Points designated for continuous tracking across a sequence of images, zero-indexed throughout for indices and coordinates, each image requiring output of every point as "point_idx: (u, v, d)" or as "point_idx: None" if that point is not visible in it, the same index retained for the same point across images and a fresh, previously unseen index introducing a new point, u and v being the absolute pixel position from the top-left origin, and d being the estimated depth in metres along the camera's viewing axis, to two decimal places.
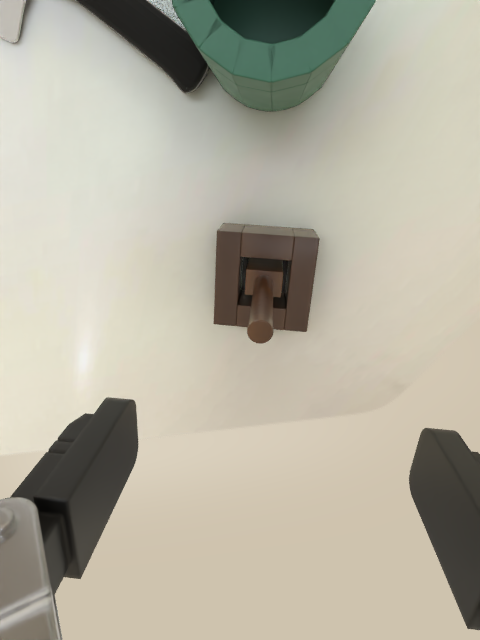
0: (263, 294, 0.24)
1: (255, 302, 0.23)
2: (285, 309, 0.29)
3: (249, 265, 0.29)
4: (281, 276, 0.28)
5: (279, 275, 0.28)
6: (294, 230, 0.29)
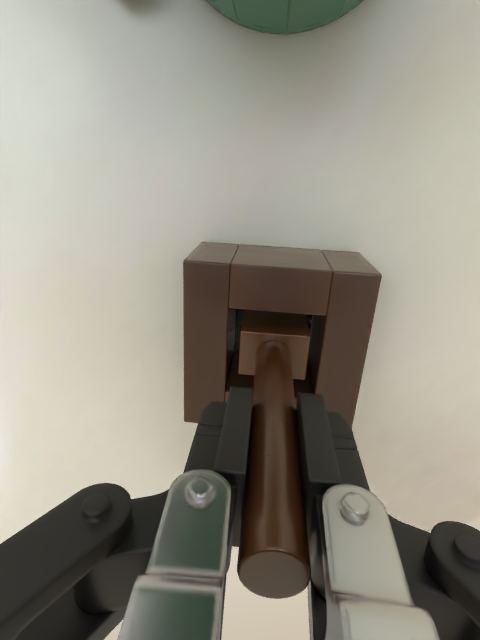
0: (276, 409, 0.11)
1: (259, 440, 0.10)
2: None
3: (246, 319, 0.16)
4: (306, 343, 0.15)
5: (303, 341, 0.15)
6: (327, 256, 0.16)
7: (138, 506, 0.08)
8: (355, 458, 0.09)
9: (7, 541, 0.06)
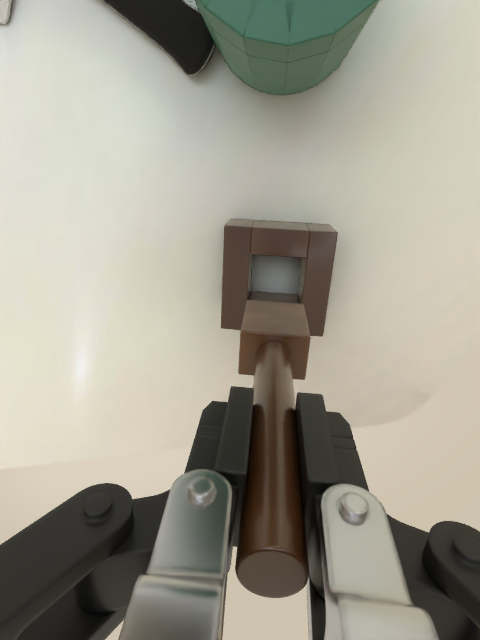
0: (275, 409, 0.11)
1: (258, 440, 0.10)
2: None
3: (247, 320, 0.16)
4: (306, 344, 0.15)
5: (303, 341, 0.15)
6: (308, 225, 0.27)
7: (139, 506, 0.08)
8: (354, 458, 0.09)
9: (8, 541, 0.06)
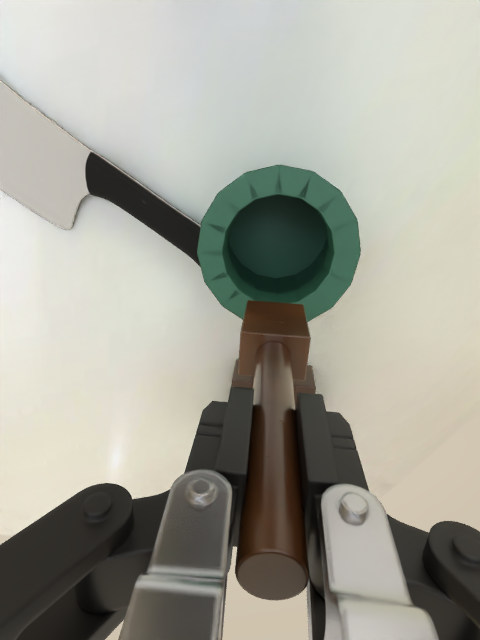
0: (275, 411, 0.11)
1: (258, 441, 0.10)
2: None
3: (247, 320, 0.16)
4: (306, 344, 0.15)
5: (303, 342, 0.15)
6: None
7: (139, 507, 0.08)
8: (354, 458, 0.09)
9: (8, 541, 0.06)
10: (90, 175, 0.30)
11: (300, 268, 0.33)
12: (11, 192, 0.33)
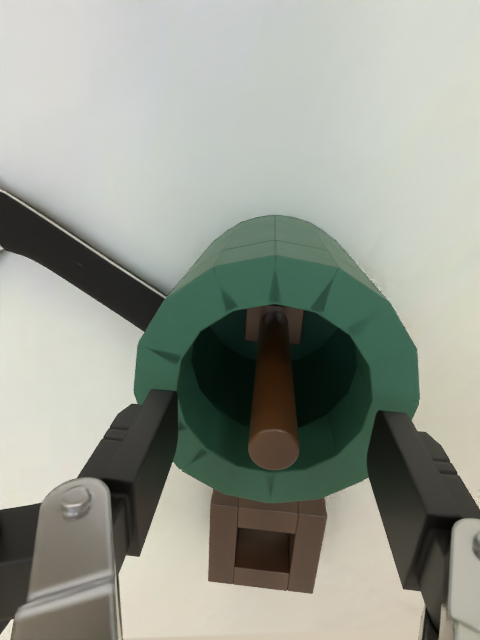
0: (276, 356, 0.14)
1: (262, 374, 0.13)
2: (288, 573, 0.26)
3: None
4: (301, 314, 0.18)
5: (298, 312, 0.18)
6: None
7: (15, 516, 0.07)
8: (459, 485, 0.08)
9: None
10: None
11: (306, 351, 0.23)
12: None
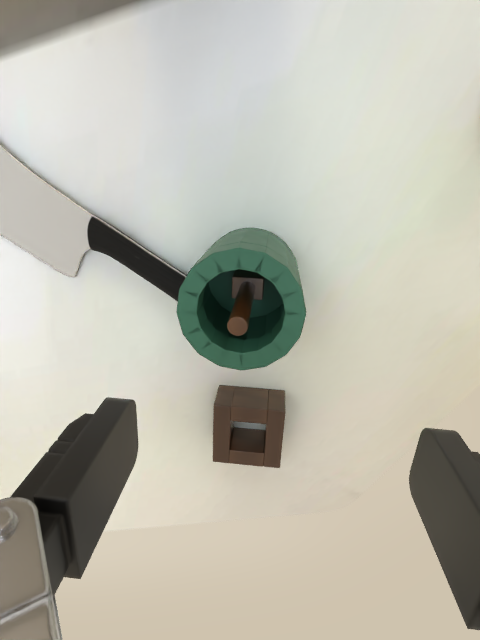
0: (243, 297, 0.29)
1: (236, 303, 0.28)
2: (263, 453, 0.41)
3: (235, 273, 0.35)
4: (262, 282, 0.33)
5: (260, 281, 0.33)
6: (269, 395, 0.41)
7: None
8: None
9: None
10: (91, 235, 0.36)
11: (271, 309, 0.38)
12: (25, 246, 0.39)
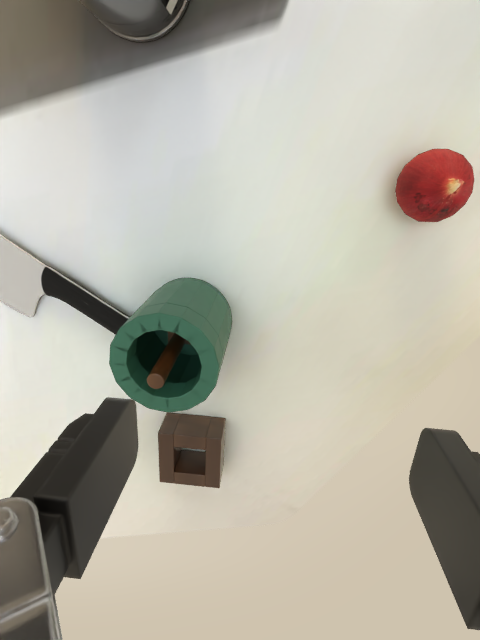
0: (169, 349, 0.34)
1: (160, 356, 0.32)
2: (204, 475, 0.46)
3: None
4: None
5: None
6: (210, 423, 0.46)
7: None
8: None
9: None
10: (45, 283, 0.40)
11: None
12: None
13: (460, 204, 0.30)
